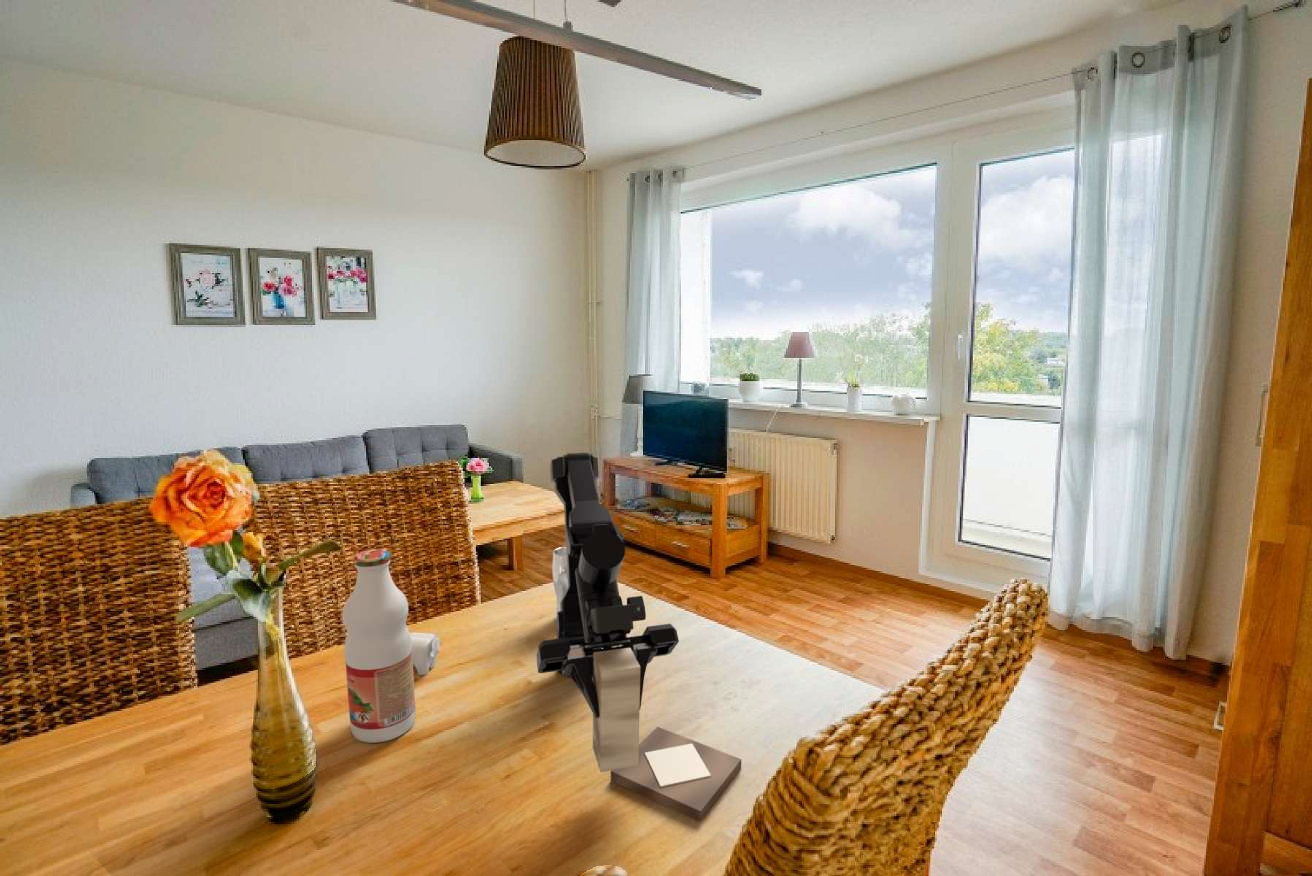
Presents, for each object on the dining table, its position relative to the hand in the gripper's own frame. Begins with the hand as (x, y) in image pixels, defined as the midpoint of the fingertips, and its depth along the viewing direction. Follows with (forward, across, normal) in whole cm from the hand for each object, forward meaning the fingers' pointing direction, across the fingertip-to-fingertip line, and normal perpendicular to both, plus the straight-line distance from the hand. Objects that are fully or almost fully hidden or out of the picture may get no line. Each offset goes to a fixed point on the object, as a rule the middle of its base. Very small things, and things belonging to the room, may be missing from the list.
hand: (618, 713), depth 85 cm
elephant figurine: (-22, -26, +40) cm, 52 cm away
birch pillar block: (+4, 0, +6) cm, 7 cm away
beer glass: (-30, +3, +48) cm, 57 cm away
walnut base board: (+7, +9, +10) cm, 15 cm away
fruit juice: (-9, -31, +27) cm, 42 cm away
